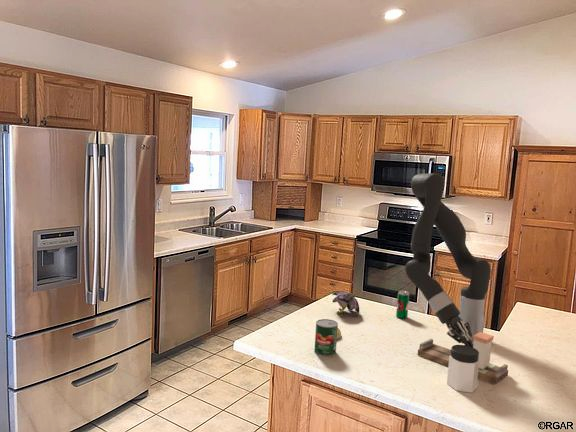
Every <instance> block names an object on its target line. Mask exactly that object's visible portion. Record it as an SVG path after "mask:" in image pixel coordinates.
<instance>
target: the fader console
mask: <svg viewBox="0 0 576 432" xmlns="http://www.w3.org/2000/svg"><path fill="white" fill-rule="evenodd" d="M450 355H451V348H450V349H449V348H447V347H444V346H442V345H438V344H436V343H434V339H433V338H429V339H427V340H424V341H423V342H421V343H419V349H417V356H419V357H422V358H425V359H427V360H430V361H433V362H434V363H438V364H440V365H442V366H445V367H448V366H449V356H450ZM508 366H509V365H508V364H505V363H504V364H503V365H502V366H499V365H495V364H493V363H490V364H489V366H487V367H486V368H484V369H481V368H479V369H478V378H477V379H480V380H482V381H485V382H487V383H490V384H493V385H495V386H496V385H497V384H499V383H500V382H501V381H503V380H504V379H505V378H506V377H508V375H509V370H508Z"/></svg>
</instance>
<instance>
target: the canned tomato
mask: <svg viewBox="0 0 576 432" xmlns="http://www.w3.org/2000/svg"><path fill="white" fill-rule="evenodd" d="M338 325H339V323H338V322H337V321H336V320H333V319H328V318H327V319H326V318H324V319H323V318H322V319H318V320H316V322H315V336H314V337H315V338H314V350H313V351H314V353H315V355H317V356H320V357H324V358H326V357H327V358H329V357H333V356H335V355H336V354H337V344H338V343H337V341H338V339H337V329H338V328H339V327H338Z"/></svg>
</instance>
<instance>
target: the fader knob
mask: <svg viewBox="0 0 576 432" xmlns="http://www.w3.org/2000/svg"><path fill="white" fill-rule="evenodd" d="M473 340H474V341H473V342H472V343H473V348H475V349H476V350H478V352H479V358H478V359H479V368H481V369H484V368H486V367H487V366H489V364H491V363H490V361H491V354H492V345H493V341H494V335H493V334H488V333H485V332H483V333H482V332H479V333H477V334H475V335H473Z"/></svg>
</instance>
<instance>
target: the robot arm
mask: <svg viewBox="0 0 576 432" xmlns="http://www.w3.org/2000/svg"><path fill="white" fill-rule="evenodd" d="M410 187H411V191H412V194H413V195H414V196H415V198H416V200H418V202H419V203H420V204H421V206H422V207H423V209H422V212H421V214H420V216H419V218H418V220H417V221H416V222H415V225H414V227H413V230H412V234H411V241H410V243H411V244H410V251H411V252H412V253H413V256H412V257H413V259H412V260H409V261H407V263H406V264H405V266H404V272H405V274H406V276H407V278H408V279H409V280H410V281H411V282H412V283H413V284H414V286H415V287H416V288H417V289H418V290H419V291H420V292H421V294H422V296H424V298H425V300H426V301H427V302H428V305H429V306H430V308H431V310H432V311H433V313H434V314H435V315H436V317H437V318H438V320H439V321H440V323H441V324H442V325H444V324H445V325H446V327H447V329H448V331H446V335H448V336H449V337H450V338H451V339H453V340H454V341H456V342H457V343H458V344H462V345H466V346H470V347H473V343H474V340H473V335H475V334H477V333H479V332H482V333H484V327H485V319H486V318H485V315H484V309H485V301H486V295H487V292H488V289H489V286H490V279H491V273H492V270H491V269H492V268H491V265H490V262H489V261H488V260H486V259H483V258H480V257H476V256H474V255H473V254H472V253H471V251H469V248H468V247H467V244H466V240H467V233H466V232H467V231H466V229H465V227H464V224H463V223H462V221H461V219H460V217H459V216H458V215H457V214H456V213H455V212H454V211H453V210H452V209H451V208H449V206H447V205H445V204H444V203H443V201H442V198H443V195H444V192H445V180H444V178H443V176H442V175H441V174H439V173H435V172H434V173H433V172H432V173H431V172H430V173H425V172H424V173H418V174H415V175H414V176H413V177H412V179H411V182H410ZM434 227H435V228H436V230H437V231H438V234H439V235H440V237H441V238H442V240H443V242H444V244H445V245H446V247H447V249H448V250H449V252H450V254H451V256H452V258H453V261H454V263H455V265H456V267H457V270H458V272H459V273H460V275H461V276H462V277H464V278H466V279H468V280H470V281H469V286H464V287H463V286H462V287H461V289H460V294H459V295H460V296H459V307H457V306H456V304H455V303H454V302H453V300H452V299H451V297H450V295H448V294H447V293H446V291H445V290H444V289H443V287H442V286H441V284H440V283H439V282H438V281H437V280H436V279H434V278H433V277H431V276H430V274H429V273H430V270H431V264H432V263H431V251H430V249H431V245H432V237H433V231H434Z"/></svg>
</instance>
